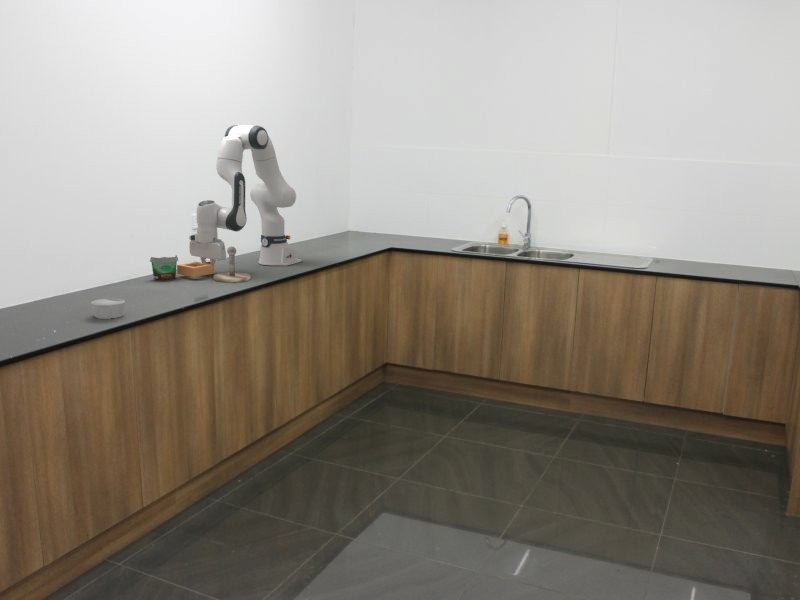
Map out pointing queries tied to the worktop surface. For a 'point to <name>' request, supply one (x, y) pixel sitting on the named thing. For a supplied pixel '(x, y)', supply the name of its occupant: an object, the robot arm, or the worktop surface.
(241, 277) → the round peg stand
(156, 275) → the food container
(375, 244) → the worktop surface
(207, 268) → the orange square frame
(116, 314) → the ramekin
